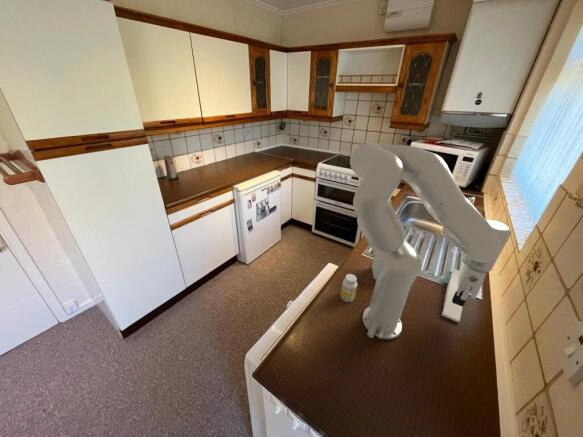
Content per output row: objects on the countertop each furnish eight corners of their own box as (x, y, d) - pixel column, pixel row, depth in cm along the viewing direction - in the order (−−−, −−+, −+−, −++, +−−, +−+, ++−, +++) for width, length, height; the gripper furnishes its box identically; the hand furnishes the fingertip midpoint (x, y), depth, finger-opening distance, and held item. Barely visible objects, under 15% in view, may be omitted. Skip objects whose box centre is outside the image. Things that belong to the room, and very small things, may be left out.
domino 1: (473, 279, 93) (447, 270, 98) (469, 291, 92) (443, 281, 97) (472, 280, 94) (446, 270, 99) (468, 291, 94) (443, 282, 98)
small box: (387, 281, 98) (393, 261, 93) (373, 279, 99) (378, 259, 94) (384, 268, 105) (389, 249, 100) (371, 267, 106) (376, 247, 101)
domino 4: (460, 311, 84) (465, 289, 88) (444, 304, 86) (449, 283, 90) (459, 312, 85) (464, 291, 89) (443, 306, 87) (448, 285, 92)
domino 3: (461, 302, 87) (466, 281, 91) (445, 296, 90) (451, 276, 93) (459, 304, 88) (465, 283, 92) (444, 297, 91) (450, 278, 95)
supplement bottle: (344, 303, 88) (348, 284, 83) (337, 293, 92) (340, 274, 87) (357, 300, 89) (361, 281, 84) (350, 290, 94) (353, 271, 89)
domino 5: (459, 320, 80) (464, 298, 85) (442, 313, 83) (448, 292, 87) (458, 322, 81) (463, 300, 86) (441, 315, 84) (447, 294, 88)
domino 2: (462, 294, 91) (468, 273, 93) (447, 288, 93) (453, 268, 96) (461, 295, 92) (467, 274, 95) (446, 289, 94) (452, 269, 97)
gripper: (494, 279, 64) (469, 324, 73) (493, 252, 75) (471, 294, 84) (462, 268, 68) (441, 312, 77) (464, 244, 78) (446, 285, 87)
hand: (457, 303), depth 80 cm, fingers closed
